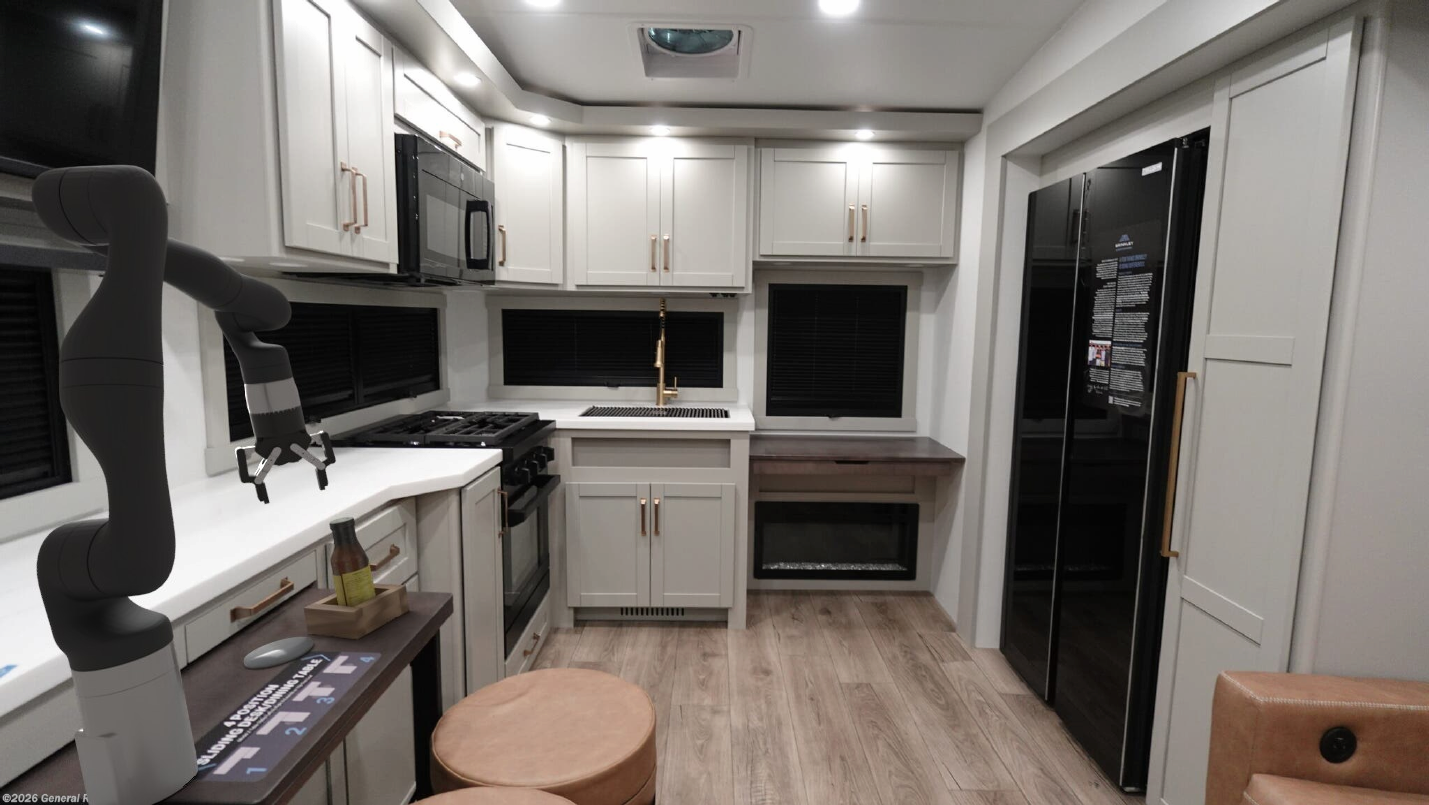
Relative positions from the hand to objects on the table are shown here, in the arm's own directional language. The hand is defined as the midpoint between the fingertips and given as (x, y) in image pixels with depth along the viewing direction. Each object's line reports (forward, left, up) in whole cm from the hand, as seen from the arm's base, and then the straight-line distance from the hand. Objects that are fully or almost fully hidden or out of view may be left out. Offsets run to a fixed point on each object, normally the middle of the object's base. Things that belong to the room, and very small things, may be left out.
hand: (295, 495), depth 118 cm
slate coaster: (-7, +1, -26) cm, 27 cm away
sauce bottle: (+6, -3, -26) cm, 27 cm away
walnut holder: (+6, -3, -26) cm, 27 cm away
